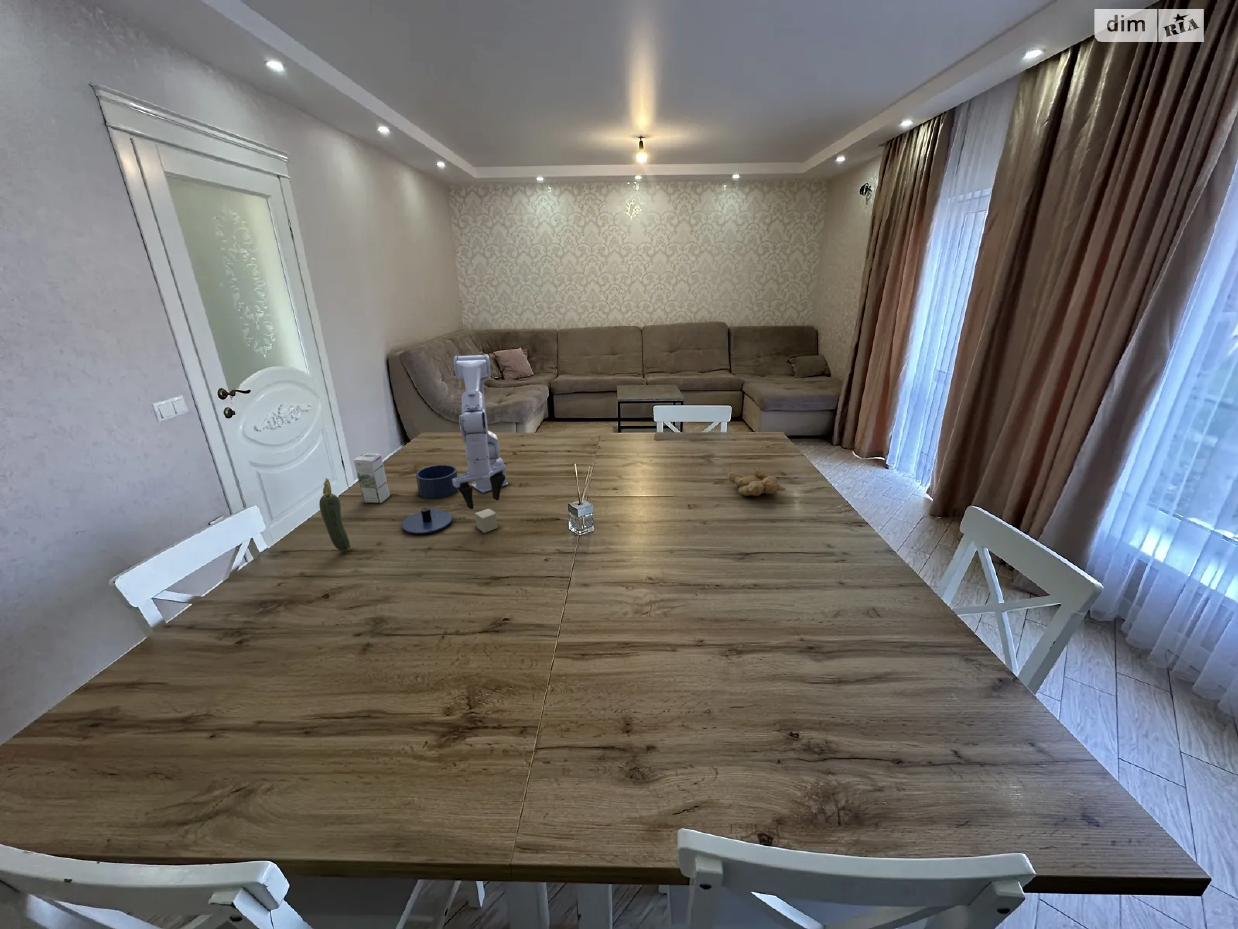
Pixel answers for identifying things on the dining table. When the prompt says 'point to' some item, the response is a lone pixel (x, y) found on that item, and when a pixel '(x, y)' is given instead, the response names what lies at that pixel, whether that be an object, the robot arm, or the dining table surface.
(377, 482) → the syrup box
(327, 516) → the vegetable
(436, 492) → the pot
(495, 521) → the block
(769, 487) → the ginger root
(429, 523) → the lid
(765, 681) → the dining table surface
